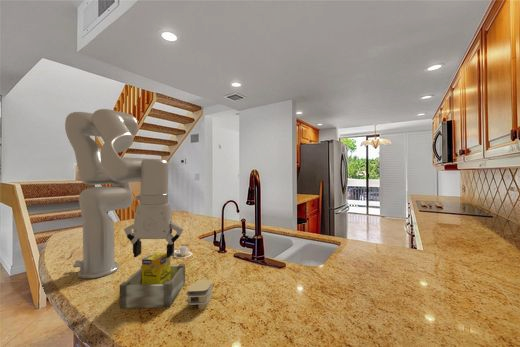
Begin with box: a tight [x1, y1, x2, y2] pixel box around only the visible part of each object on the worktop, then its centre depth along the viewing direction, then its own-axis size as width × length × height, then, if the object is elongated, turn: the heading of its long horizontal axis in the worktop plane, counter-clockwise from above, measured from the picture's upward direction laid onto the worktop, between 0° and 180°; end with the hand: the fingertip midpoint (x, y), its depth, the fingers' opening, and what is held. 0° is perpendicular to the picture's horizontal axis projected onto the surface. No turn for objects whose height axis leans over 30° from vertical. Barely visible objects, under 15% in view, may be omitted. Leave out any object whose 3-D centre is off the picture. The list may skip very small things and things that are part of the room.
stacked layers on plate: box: [186, 278, 214, 310], centre depth 64 cm, size 10×9×6 cm
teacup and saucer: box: [172, 245, 193, 259], centre depth 102 cm, size 9×8×4 cm
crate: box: [119, 263, 186, 309], centre depth 69 cm, size 14×14×6 cm
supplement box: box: [141, 251, 171, 285], centre depth 69 cm, size 6×6×11 cm
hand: (153, 255), depth 69 cm, fingers open, 9 cm apart
